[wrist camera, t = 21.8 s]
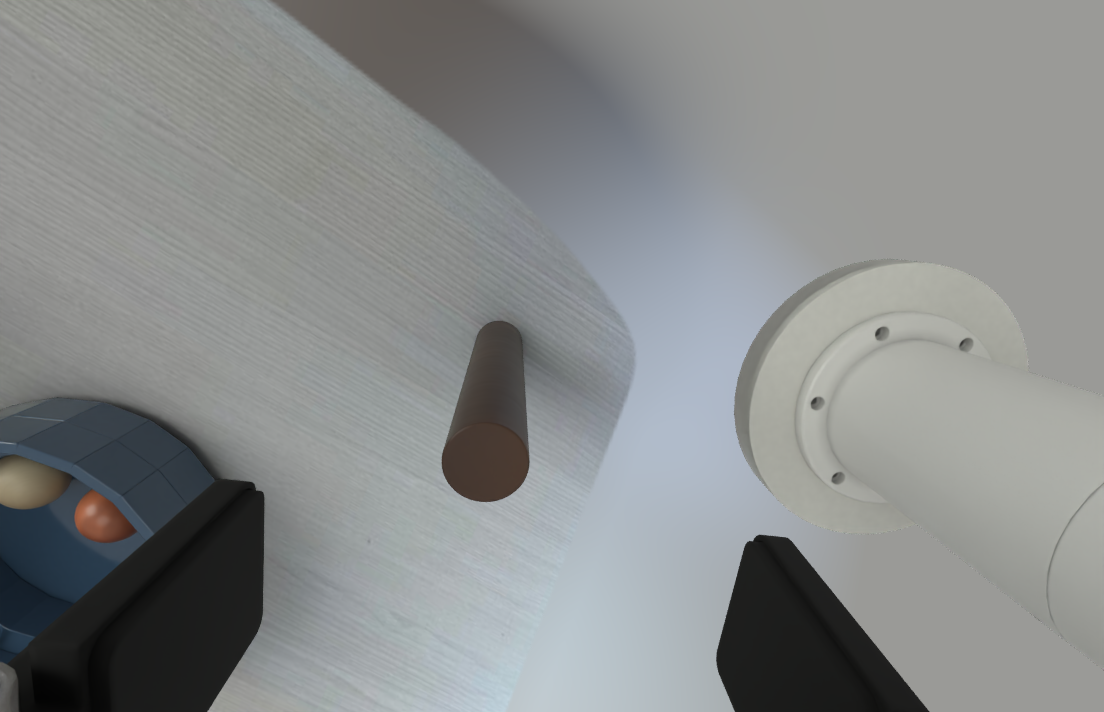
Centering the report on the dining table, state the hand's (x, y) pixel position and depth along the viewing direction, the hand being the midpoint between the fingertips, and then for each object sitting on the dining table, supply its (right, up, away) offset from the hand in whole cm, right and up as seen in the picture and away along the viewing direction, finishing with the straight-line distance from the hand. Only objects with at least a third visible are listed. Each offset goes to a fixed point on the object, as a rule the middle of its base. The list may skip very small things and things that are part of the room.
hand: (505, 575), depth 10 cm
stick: (-2, +5, +20) cm, 21 cm away
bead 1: (-26, -2, +18) cm, 32 cm away
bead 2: (-23, -4, +19) cm, 30 cm away
